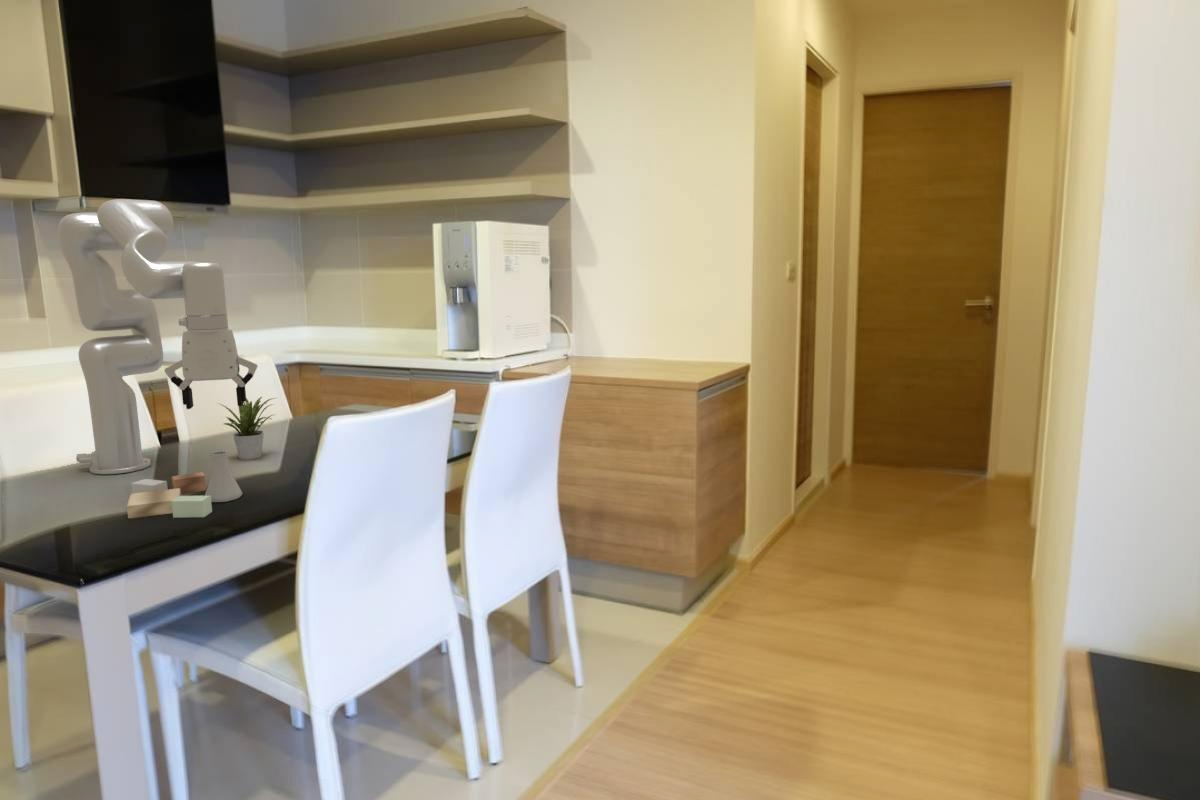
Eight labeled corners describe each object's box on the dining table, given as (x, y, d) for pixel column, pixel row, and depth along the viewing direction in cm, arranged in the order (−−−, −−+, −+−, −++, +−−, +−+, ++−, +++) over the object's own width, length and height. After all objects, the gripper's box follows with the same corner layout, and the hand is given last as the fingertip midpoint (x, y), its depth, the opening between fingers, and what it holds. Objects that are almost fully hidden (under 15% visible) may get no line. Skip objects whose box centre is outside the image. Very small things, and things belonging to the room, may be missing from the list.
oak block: (128, 520, 157) (126, 506, 156) (132, 507, 165) (130, 493, 164) (180, 514, 161) (178, 499, 160) (181, 501, 169) (180, 487, 168)
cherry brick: (176, 495, 172) (174, 480, 171) (173, 491, 175) (171, 476, 174) (206, 490, 175) (205, 475, 175) (203, 487, 178) (201, 471, 178)
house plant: (297, 453, 207) (293, 391, 204) (255, 466, 194) (249, 400, 191) (256, 448, 212) (251, 387, 209) (212, 460, 200) (206, 396, 197)
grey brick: (133, 499, 170) (131, 483, 169) (147, 494, 173) (145, 478, 172) (154, 501, 168) (152, 485, 167) (168, 497, 171) (166, 481, 170)
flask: (227, 504, 165) (223, 457, 164) (196, 502, 167) (192, 455, 165) (249, 494, 172) (245, 449, 171) (219, 492, 174) (215, 447, 172)
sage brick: (173, 518, 157) (171, 501, 157) (181, 512, 161) (180, 495, 160) (204, 517, 157) (202, 500, 157) (212, 512, 161) (210, 495, 160)
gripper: (155, 326, 157) (164, 412, 160) (250, 323, 162) (258, 407, 165) (164, 323, 164) (173, 406, 167) (255, 321, 169) (262, 401, 172)
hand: (215, 406), depth 166 cm, fingers open, 9 cm apart
